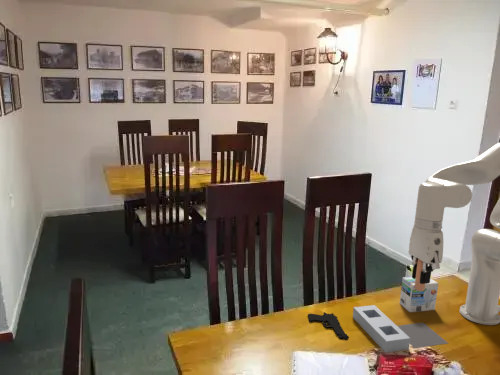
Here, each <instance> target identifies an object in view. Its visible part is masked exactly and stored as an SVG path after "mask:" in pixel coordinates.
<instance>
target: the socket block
mask: <svg viewBox="0 0 500 375" xmlns="http://www.w3.org/2000/svg"><path fill="white" fill-rule="evenodd" d="M352 319H354V320H355V321H356V322H357V323H358V325H359V326H360V328H362V329H363V330H364V331H365V332H366V333H367V334H368V335H369V337H370V338H371V339H372V340H373V341H374V342H375V343H376V345H378V346H379V348H381V350H382V351H383V352H384V353H389V352H390V353H392V352H398V351H405V350H410V345H411V344H410V337H409V336H407V335H406V334H405V333H404V332H403V331H402V330H401V329H400V328H399V327H398V326H399V325H397V324H396V323H395V322H393V320H391V319H390V318H389V317H388V316H387V315H386V314H385V313H384V312H382V311H381V310H380V309H379V308H378V306H376V305H375V304H373V305H363V306H362V305H361V306H353V310H352Z"/></svg>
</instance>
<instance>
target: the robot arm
mask: <svg viewBox="0 0 500 375" xmlns="http://www.w3.org/2000/svg"><path fill="white" fill-rule="evenodd" d="M498 177H500V142H498V143H497V142H496V144H494V145H493V146H492V147H490V148H488V149H487V150H485V151H484V152H483V153H481V154H480V155H478V156H477V157H475V158H474V159H472V160H469V161H465V162H460V163H457V164H453V165H450V166H447V167H445V168H442V169H440V170H438V171H437V172H435V173H433V174H432V175H431V176H430V177H428V178H427V179H426V180H425V181H424V182H422V183H420V184H419V186H418V189H417V190H418V191H417V192H418V193H417V198H416V208H415V215H414V224H413V226H412V230H411V234H410V238H409V245H408V251H407V252H408V255H409V256H410V258H411V261H412V262H411V264H412V272H411V273H412V274H411V277H412V278H413V279H415V278H416V270H417V262H418V259H420V260H421V261H423V271H421V275H420V283H421V284H428V283H430V278H431V276H432V272H433V273H434V271H435V270H439V269H440V268H441V265H440V264H441V263H442V262H443V255H444V233H443V231H442V229H443V219H444V212H445V208H451V209H452V208H453V209H458V208H460V209H461V208H464V207H465V206H468V205H469V203H470V202H471V201H472V198H473V193H472V190H471V188H470V187H469V186H474V185H475V186H477V185H485V184H490V183H492V182H493V181H494V180H495V179H497V178H498ZM489 222H490V224H491V225H492V226H494V228H497V229H499V230H500V197H499V198H498V200H497V202H496V204H495V205H494V207H493V210H492V211H491V214H490V217H489ZM470 247H471V263H470V273H469V278H468V284H467V291H466V297H465V304H462V305H460V307H459V314H460V315H461V316H463V318H465V319H467V320H469V321H471V322H473V323H477V324H479V325H486V326H495V325H499V324H500V314H499V313H500V305H499V298H500V231H498V230H495V229H491V228H481V229H480V228H479V229H478V230H476V231H475V232H474V233H473V235H472V237H471V241H470ZM427 264H428V267H427Z"/></svg>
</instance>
